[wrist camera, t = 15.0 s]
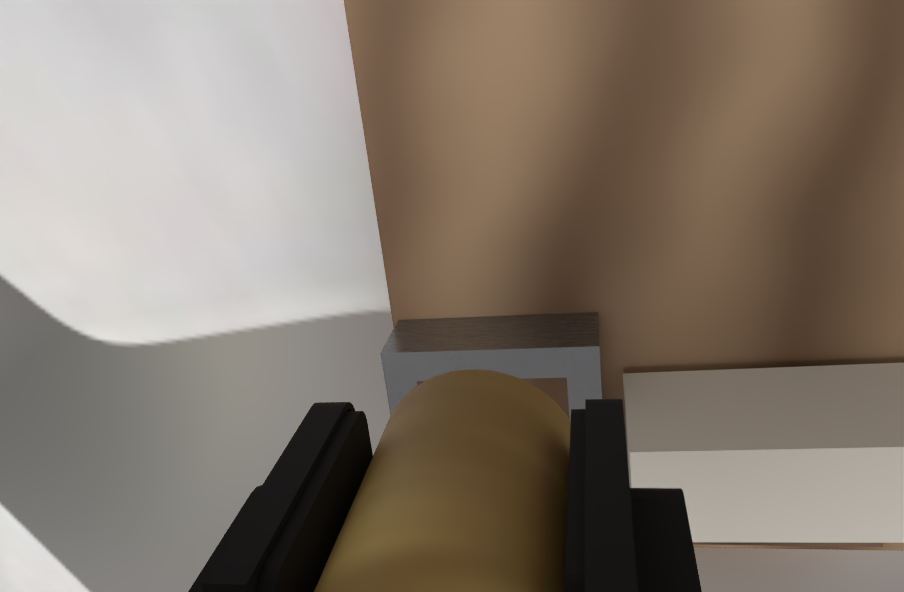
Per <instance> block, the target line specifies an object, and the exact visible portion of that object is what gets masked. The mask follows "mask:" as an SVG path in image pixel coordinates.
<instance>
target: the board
mask: <svg viewBox="0 0 904 592" xmlns="http://www.w3.org/2000/svg"><path fill="white" fill-rule="evenodd" d="M344 5H345V11H346V18H347V25H348V31H349V38H350V44H351V51H352V57H353V64H354V70H355V77H356V83H357V90H358V97H359V103H360V110H361V116H362V123H363V129H364V136H365V142H366V149H367V155H368V162H369V169H370V175H371V182H372V188H373V195H374V201H375V208H376V214H377V221H378V227H379V234H380V241H381V247H382V254H383V260H384V267H385V273H386V280H387V286H388V293H389V299H390V306H391V313H392V319H393V326H394V327H395V325H396V323H397V322H398V320H406V319H432V318H457V317H482V316H507V315H532V314H557V313H582V312H598V316H599V338H600V359H601V381H602V399H623V411H624V423H625V410H624V391H623V373H647V372H673V371H699V370H724V369H750V368H776V367H802V366H828V365H854V364H880V363H904V0H344ZM522 380H524V381H526V382H528V383H530V384H532V385H534V386H536V387H537V388H539V389H540V390H542V391H543V392H544V393H546V394H547V395H548V396H549V397H551V398H552V399H553V400H554V401H555V402H556V403H557V404H558V405H559V406H560V407H561V409H562V410H563V411H564V412H565V413H566V415H567V416H568V418H569V403H568V388H567V378H528V379H522ZM569 419H570V418H569ZM625 435H626V429H625ZM693 547H710V548H776V549H779V548H780V549H844V550H845V549H846V550H848V549H849V550H904V543H793V542H693Z"/></svg>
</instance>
